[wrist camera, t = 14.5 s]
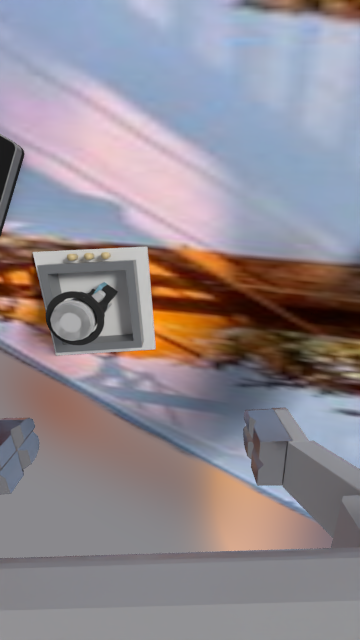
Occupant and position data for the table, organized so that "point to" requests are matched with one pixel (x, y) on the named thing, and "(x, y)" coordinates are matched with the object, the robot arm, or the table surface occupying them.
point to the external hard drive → (8, 173)
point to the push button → (79, 314)
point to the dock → (88, 273)
